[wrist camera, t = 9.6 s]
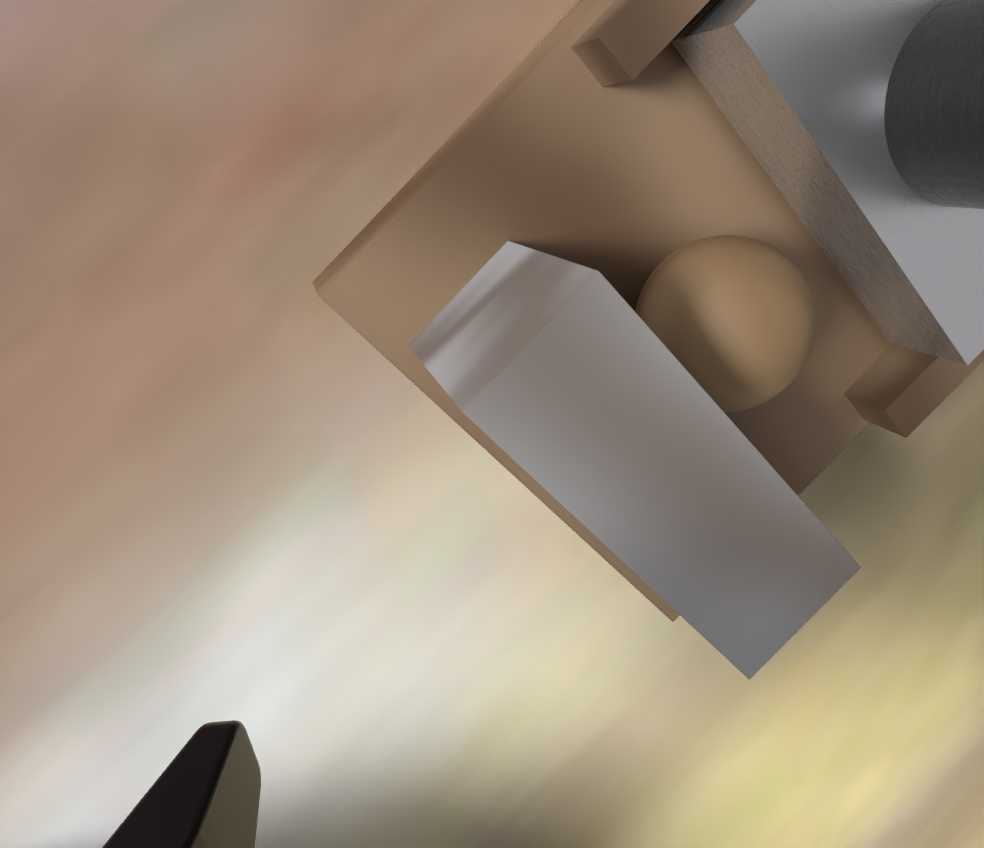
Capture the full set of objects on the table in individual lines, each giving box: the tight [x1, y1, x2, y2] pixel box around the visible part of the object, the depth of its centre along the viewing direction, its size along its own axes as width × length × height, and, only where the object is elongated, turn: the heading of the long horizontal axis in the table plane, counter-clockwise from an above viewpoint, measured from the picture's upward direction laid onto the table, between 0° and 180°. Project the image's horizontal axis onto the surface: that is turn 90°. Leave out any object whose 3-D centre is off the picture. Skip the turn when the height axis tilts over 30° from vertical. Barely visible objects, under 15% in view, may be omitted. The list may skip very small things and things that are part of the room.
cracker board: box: [313, 0, 984, 680], centre depth 18 cm, size 20×12×7 cm, turn 134°
